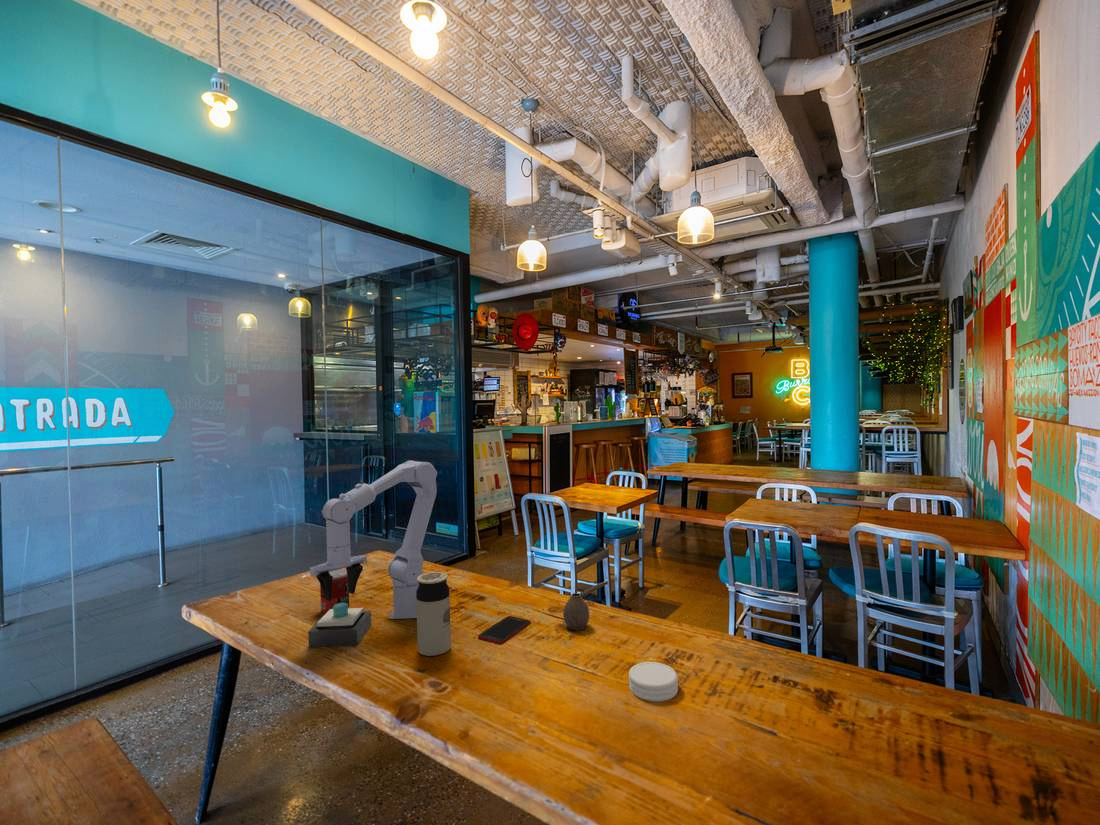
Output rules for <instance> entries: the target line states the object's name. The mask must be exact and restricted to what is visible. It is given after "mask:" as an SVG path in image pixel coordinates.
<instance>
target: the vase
mask: <svg viewBox="0 0 1100 825" xmlns="http://www.w3.org/2000/svg"><path fill="white" fill-rule="evenodd" d="M589 609H590V608H589V607H588V604H587V602H586V601H585V600H584V599H583V597H582V596H581V594H580V593H578V592H574V593H572V594H571V595H570V597H569V599H567V601H566V603H565V605H564V608H563V611H562V612H563V613H562V615H563V616H562V617H563V621H564V623H565V625H566V627H567V628H568V629H569V630H572V631H581V630H584V629H585V628H586V627H587V625H588V623H589V620H590V610H589Z"/></svg>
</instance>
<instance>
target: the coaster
mask: <svg viewBox="0 0 1100 825" xmlns="http://www.w3.org/2000/svg"><path fill="white" fill-rule="evenodd" d="M678 678H679V675H678V673H677V672H676V670H674V669H673V668H672V667H671V666H669V665H667V664H665V663H661V662H658V661H657V662H655V661H643V662H639V663H637V664H634V665H633V666H632V667H630V669H629V672H628V682H629V683H628V686H629V689H630V692H631V693H632V694H633V695H635V697H638V698H639V699H642V700H644V701H649V702H665V701H669V700H671V699H673V698H674V697H675V696H677V694H678V691H679V687H678V685H679V681H678Z"/></svg>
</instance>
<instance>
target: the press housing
mask: <svg viewBox="0 0 1100 825" xmlns="http://www.w3.org/2000/svg"><path fill="white" fill-rule="evenodd" d="M371 626H372V610H363V612H362V614H361V615H360V616H359V617H358V619H357V620H356V621H355V622H354V624H353V625H345V626H321V627H317V622H316V623H315V624H314V625H313V626H312V627H311V628H310V629H309V630H308V632H307V636H308V638H307V640H308V648H325V647H326V648H328V647H329V648H330V647H348V646H350V647H351V646H358V644H360V642H362V639H363V637H364V636H365V634H367V632H368V631H369V629H370V628H371Z"/></svg>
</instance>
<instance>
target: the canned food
mask: <svg viewBox="0 0 1100 825" xmlns="http://www.w3.org/2000/svg"><path fill="white" fill-rule="evenodd" d="M329 573H330V575H331V576H333V579H332V588H331V590H332V600H331V601H327V600H326V599H325V595H324V592H323V589H322V587H321V584H320V583H319V590H320V611H321V613H322V614H323V615H325V614H326V613H327V612H328V611H329V610H330V609H333V606H334V605H336V604H339V603H347V604H348V608H350V593H349V591H348V576H347V570H346V569H338V570H334V571H330V572H329Z"/></svg>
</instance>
